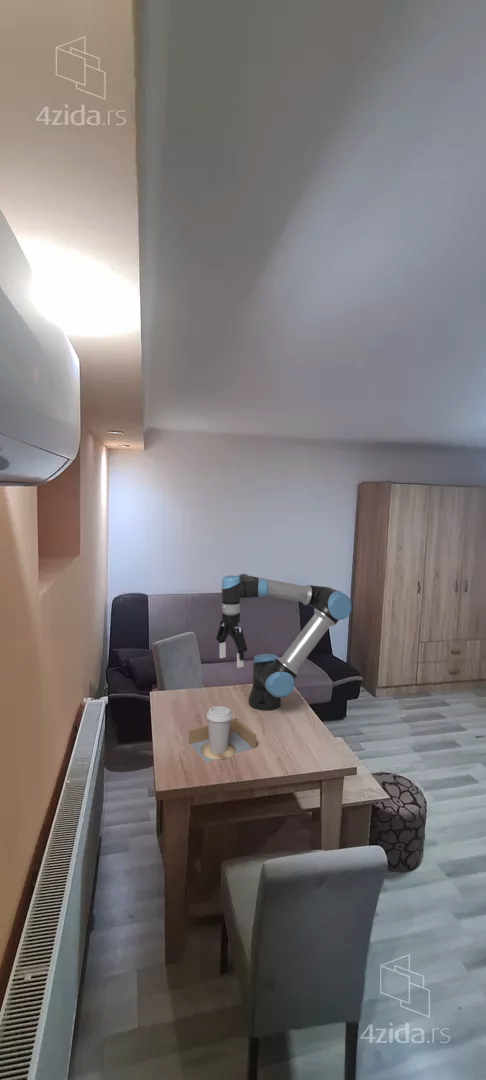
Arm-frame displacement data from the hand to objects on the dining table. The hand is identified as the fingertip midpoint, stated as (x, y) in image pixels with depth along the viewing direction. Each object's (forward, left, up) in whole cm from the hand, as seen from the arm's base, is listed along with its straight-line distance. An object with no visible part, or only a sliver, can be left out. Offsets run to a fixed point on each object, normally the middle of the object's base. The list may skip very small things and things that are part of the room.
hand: (231, 662), depth 195 cm
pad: (+16, +19, -25) cm, 35 cm away
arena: (+13, +17, -26) cm, 33 cm away
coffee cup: (+16, +19, -25) cm, 35 cm away
